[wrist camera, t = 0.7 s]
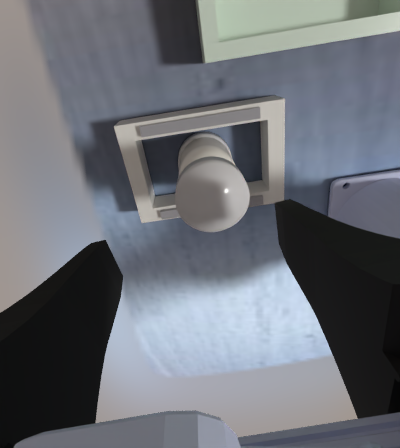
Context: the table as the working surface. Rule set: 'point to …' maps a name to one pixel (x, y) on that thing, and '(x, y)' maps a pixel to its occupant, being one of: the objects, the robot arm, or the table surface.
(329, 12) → the parts tray
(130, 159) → the holder
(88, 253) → the robot arm
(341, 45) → the table surface
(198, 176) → the cylinder
